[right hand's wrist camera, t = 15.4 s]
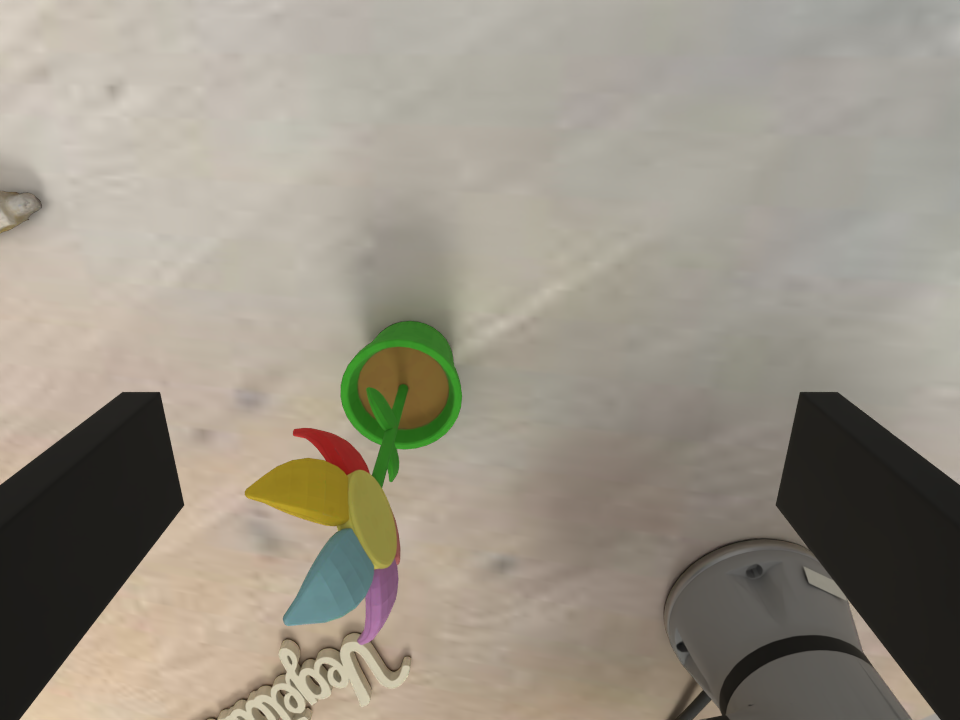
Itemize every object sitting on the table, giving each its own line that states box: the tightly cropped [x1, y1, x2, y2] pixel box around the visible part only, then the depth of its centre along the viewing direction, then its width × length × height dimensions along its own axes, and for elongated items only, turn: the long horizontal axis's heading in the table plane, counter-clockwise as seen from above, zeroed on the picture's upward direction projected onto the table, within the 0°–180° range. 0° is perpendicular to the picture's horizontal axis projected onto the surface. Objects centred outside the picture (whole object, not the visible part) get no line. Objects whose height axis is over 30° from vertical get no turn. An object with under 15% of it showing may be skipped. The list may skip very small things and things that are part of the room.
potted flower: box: [245, 321, 462, 645], centre depth 34 cm, size 9×8×25 cm
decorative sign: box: [207, 633, 411, 720], centre depth 57 cm, size 26×1×10 cm
